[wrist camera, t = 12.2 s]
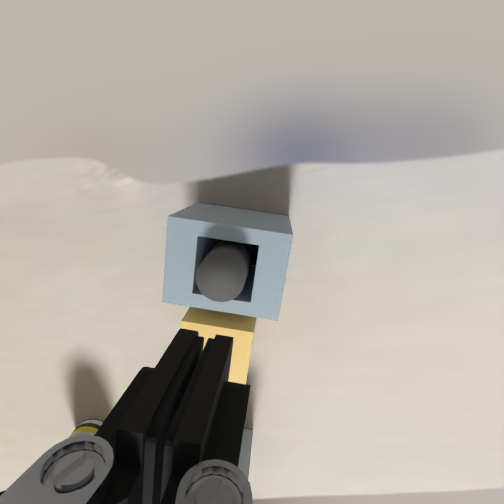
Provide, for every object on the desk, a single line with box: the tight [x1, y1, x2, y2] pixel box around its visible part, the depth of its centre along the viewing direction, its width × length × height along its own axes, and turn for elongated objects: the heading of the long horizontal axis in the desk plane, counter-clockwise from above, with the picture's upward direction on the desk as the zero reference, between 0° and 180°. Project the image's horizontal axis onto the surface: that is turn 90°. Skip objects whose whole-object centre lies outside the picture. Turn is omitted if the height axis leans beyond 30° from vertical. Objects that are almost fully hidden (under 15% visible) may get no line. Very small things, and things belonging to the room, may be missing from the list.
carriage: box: [181, 307, 256, 384], centre depth 26 cm, size 5×6×8 cm
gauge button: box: [196, 240, 250, 302], centre depth 21 cm, size 3×3×4 cm
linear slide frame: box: [162, 203, 293, 479], centre depth 27 cm, size 8×29×9 cm, turn 172°
